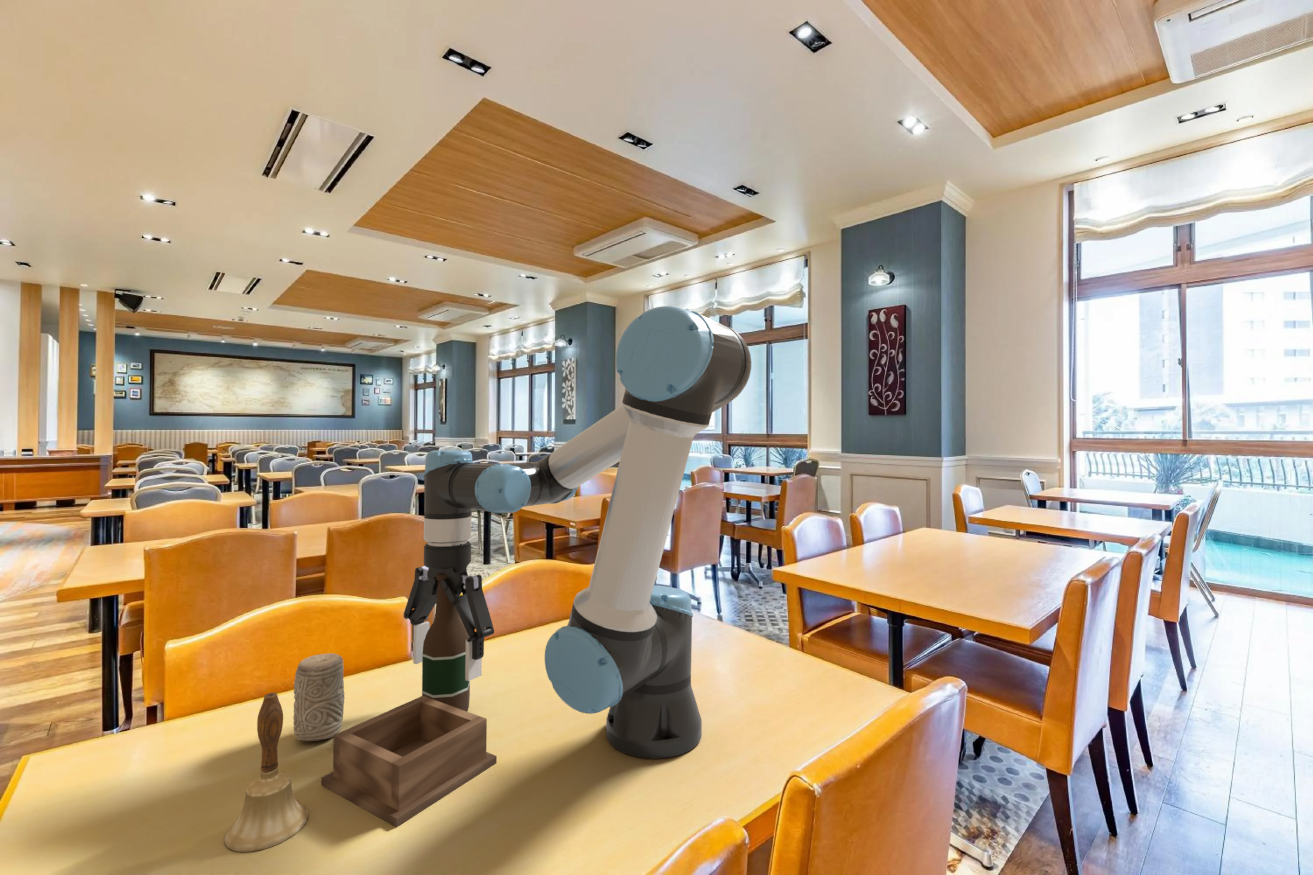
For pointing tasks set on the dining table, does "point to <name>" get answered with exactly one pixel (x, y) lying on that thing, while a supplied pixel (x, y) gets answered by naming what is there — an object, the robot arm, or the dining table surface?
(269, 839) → the hand bell
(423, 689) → the beer bottle
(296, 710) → the carving
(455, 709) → the box
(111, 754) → the dining table surface
